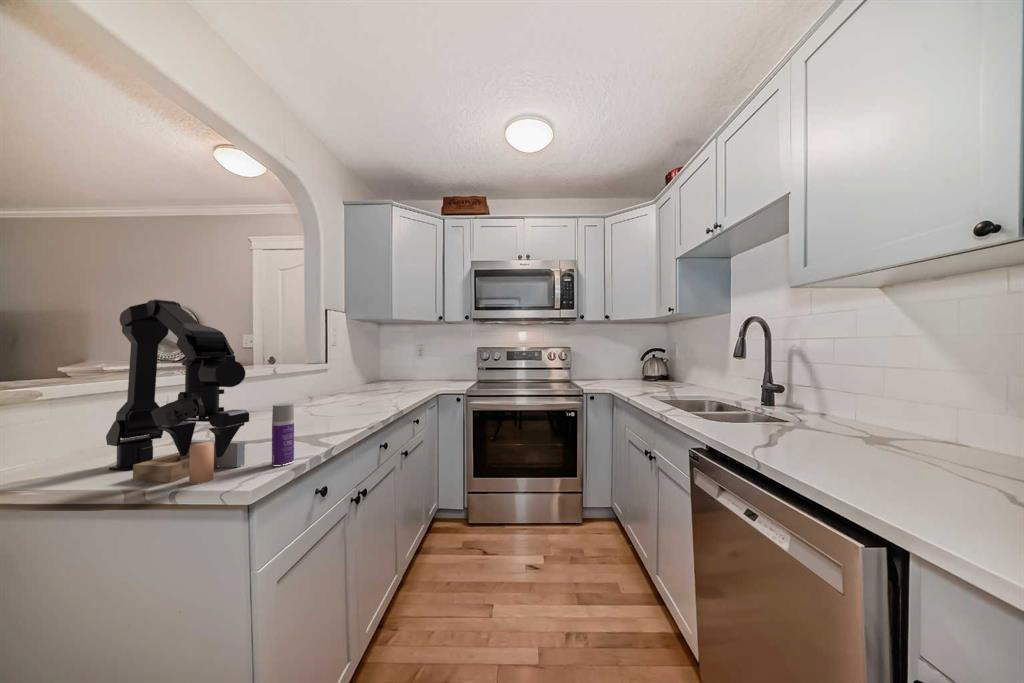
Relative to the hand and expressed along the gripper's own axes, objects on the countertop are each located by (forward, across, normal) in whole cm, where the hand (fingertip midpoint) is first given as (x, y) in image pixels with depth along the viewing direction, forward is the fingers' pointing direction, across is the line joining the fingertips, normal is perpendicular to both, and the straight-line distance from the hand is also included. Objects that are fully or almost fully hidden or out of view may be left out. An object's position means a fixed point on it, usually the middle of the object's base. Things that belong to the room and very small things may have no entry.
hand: (201, 456), depth 77 cm
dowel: (+5, 0, 0) cm, 5 cm away
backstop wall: (+5, -8, +10) cm, 13 cm away
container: (+6, +9, +12) cm, 16 cm away
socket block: (+5, -11, +3) cm, 12 cm away
